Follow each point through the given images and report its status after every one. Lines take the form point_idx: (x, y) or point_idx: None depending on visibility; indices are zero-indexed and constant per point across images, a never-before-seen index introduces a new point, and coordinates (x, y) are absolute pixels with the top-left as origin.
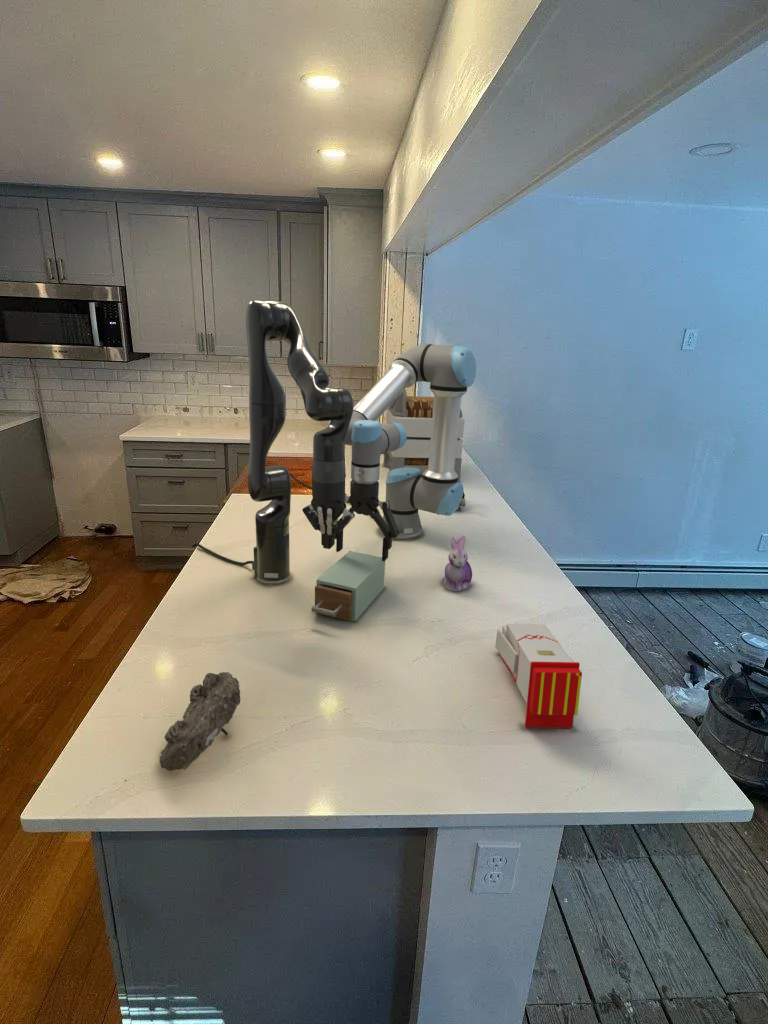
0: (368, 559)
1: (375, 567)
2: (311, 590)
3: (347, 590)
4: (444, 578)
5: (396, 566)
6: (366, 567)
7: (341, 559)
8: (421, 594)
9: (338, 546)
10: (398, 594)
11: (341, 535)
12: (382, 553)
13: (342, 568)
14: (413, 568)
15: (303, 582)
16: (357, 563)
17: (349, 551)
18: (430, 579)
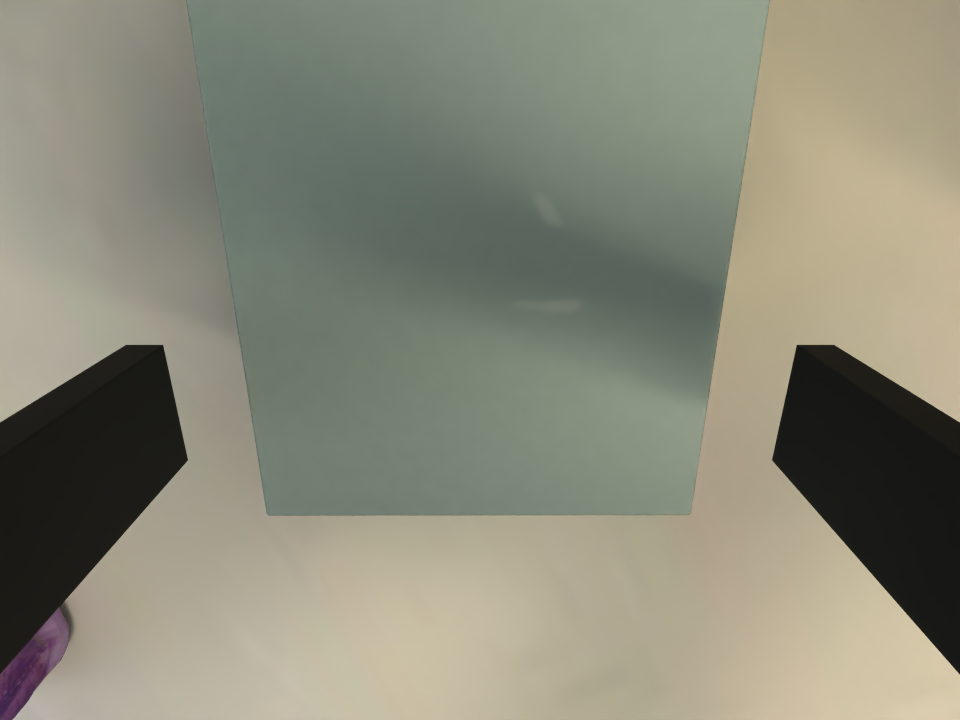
0: (409, 409)
1: (231, 248)
2: (831, 105)
3: None
4: None
5: (405, 653)
6: (325, 194)
7: (705, 270)
8: None
9: (848, 379)
10: (215, 337)
11: (926, 556)
12: (92, 390)
13: (600, 5)
14: (303, 668)
15: (929, 202)
16: (477, 251)
17: (685, 499)
18: (147, 593)
